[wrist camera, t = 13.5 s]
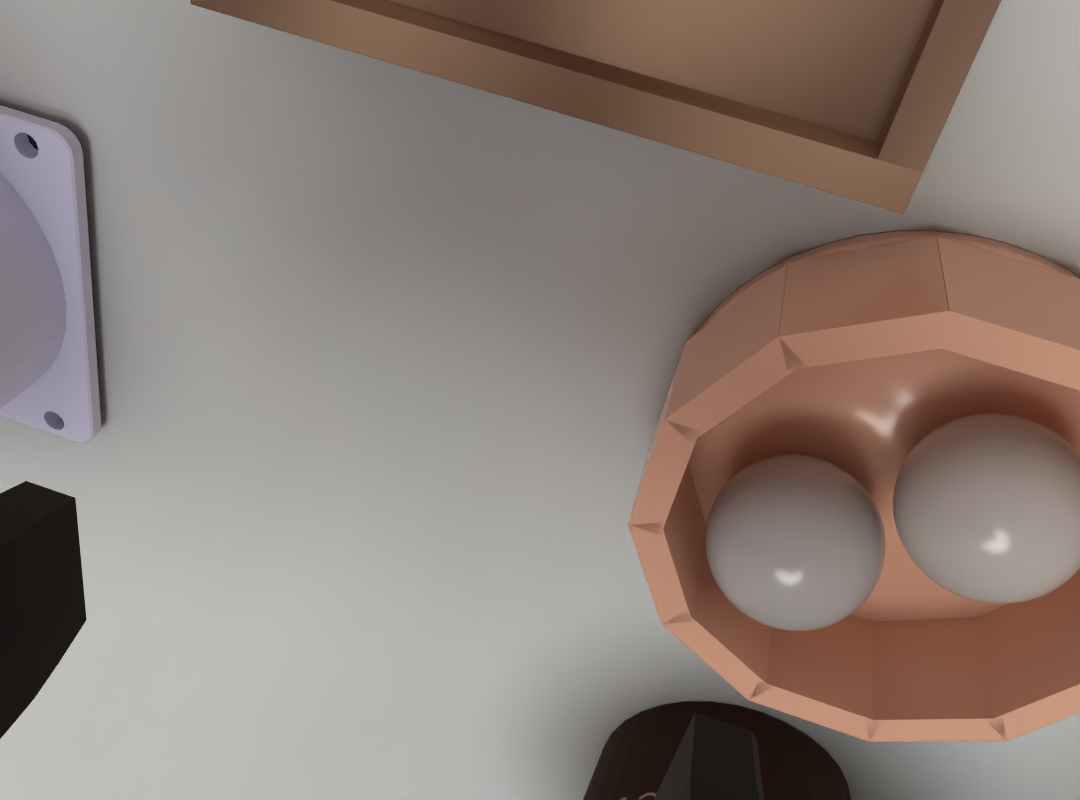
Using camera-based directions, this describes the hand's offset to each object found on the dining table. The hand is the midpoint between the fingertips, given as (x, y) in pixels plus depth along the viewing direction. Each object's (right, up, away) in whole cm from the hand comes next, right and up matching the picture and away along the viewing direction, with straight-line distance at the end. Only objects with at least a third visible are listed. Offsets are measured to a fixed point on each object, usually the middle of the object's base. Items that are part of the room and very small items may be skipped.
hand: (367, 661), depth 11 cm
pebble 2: (+10, +2, +7) cm, 12 cm away
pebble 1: (+8, +1, +8) cm, 11 cm away
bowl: (+9, +2, +8) cm, 12 cm away
